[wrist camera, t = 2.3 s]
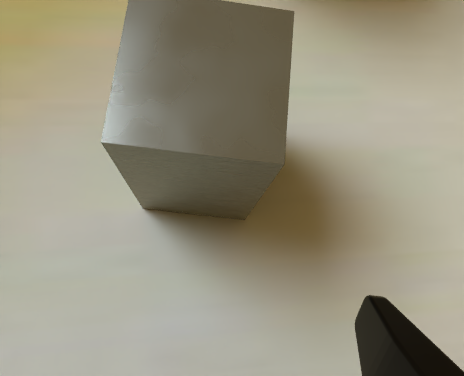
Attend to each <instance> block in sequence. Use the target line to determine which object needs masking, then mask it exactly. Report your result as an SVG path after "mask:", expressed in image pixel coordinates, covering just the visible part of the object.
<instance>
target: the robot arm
mask: <svg viewBox="0 0 464 376" xmlns="http://www.w3.org/2000/svg"><path fill="white" fill-rule="evenodd" d="M355 332H356V338H357V345H358V352H359V358H360V365H361V371H362V376H464V372H463V371H462V370H461V369H460V368H459V367H458V366H457V365H456V364H455V363H454V362H453V361H452V360H451V359H450V358H449V357H448V356H446V355H445V354H444V353H443V352H442V351H441V350H440V349H439V348H438V347H437V346H436V345H435V344H434V343H433V342H432V341H431V340H430V339H429V338H428V337H426V336H425V335H424V334H423V333H422V332H421V331H420V330H419V329H418V328H417V327H416V326H415V325H414V324H413V323H412V322H411V321H410V320H409V319H407V318H406V317H405V316H404V315H403V314H402V313H401V312H400V311H399V310H398V309H397V308H396V307H395V306H394V305H393V304H392V303H391V302H390V301H388V300H387V299H386V298H385V297H381V296H372V295H369V296H366V297H365V299H364V301H363V303H362V305H361V308H360V310H359V312H358V315H357V317H356V320H355Z"/></svg>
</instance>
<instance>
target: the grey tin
mask: <svg viewBox="0 0 464 376" xmlns="http://www.w3.org/2000/svg"><path fill="white" fill-rule="evenodd" d="M293 22H294V11H289V10H282V9H275V8H269V7H262V6H255V5H248V4H242V3H235V2H228V1H221V0H128V6H127V11H126V16H125V21H124V26H123V31H122V36H121V42H120V47H119V52H118V57H117V62H116V67H115V72H114V77H113V83H112V88H111V93H110V98H109V103H108V108H107V113H106V119H105V124H104V129H103V134H102V139H101V143H102V145H103V146H104V148H105V149H106V151H107V152H108V154H109V156H110V157H111V159H112V160H113V162H114V164H115V165H116V167H117V168H118V170H119V171H120V173H121V175H122V176H123V178H124V179H125V181H126V183H127V184H128V186H129V187H130V189H131V190H132V192H133V194H134V195H135V197H136V198H137V200H138V201H139V203H140V205H141V206H142V208H144V209H153V210H162V211H171V212H180V213H189V214H198V215H207V216H216V217H225V218H234V219H243V220H245V218H246V217H247V215H248V214H249V213H250V211H251V210H252V209H253V207H254V206H255V204H256V203H257V202H258V200H259V199H260V197H261V196H262V195H263V193H264V192H265V191H266V189H267V188H268V186H269V185H270V184H271V182H272V181H273V179H274V178H275V177H276V175H277V174H278V173H279V171H280V170H281V168H282V167H283V166H284V162H285V146H286V131H287V115H288V100H289V84H290V69H291V53H292V38H293Z"/></svg>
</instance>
